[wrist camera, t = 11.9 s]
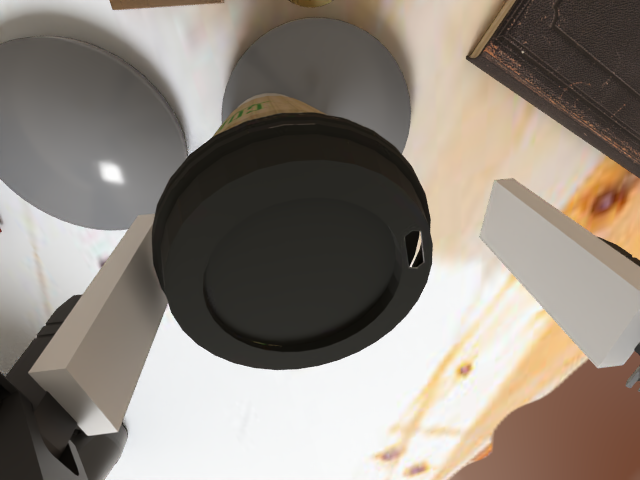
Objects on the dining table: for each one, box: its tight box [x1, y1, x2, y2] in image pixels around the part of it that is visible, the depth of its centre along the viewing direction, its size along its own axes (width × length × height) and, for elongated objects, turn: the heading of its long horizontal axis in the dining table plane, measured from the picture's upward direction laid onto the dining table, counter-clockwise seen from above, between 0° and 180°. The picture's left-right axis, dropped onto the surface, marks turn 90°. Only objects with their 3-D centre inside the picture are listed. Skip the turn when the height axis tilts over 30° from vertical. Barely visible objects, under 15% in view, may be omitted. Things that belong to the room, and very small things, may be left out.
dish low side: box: [222, 18, 411, 154], centre depth 23 cm, size 13×13×1 cm
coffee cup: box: [152, 93, 433, 370], centre depth 17 cm, size 10×10×15 cm
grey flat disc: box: [0, 36, 188, 230], centre depth 23 cm, size 13×13×1 cm
